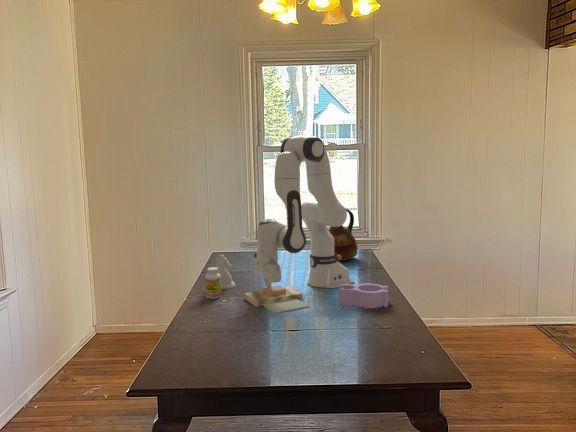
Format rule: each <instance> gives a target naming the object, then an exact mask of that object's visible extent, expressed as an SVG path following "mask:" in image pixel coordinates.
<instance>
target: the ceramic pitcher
mask: <svg viewBox="0 0 576 432" xmlns="http://www.w3.org/2000/svg"><path fill="white" fill-rule="evenodd" d="M344 208H345V209H346V212H347V214H348V216H349V223H348V225H347V227H344V224H343V225H342V226H337V227H329V229H328V231H329V232H330V234H331V235H332V236H333V237H334V254H336V255H341V256H342V257H341V259H340V260H339V259H337V261H338V262H340V261H345V260H346V261H348V260H350V259H353V258H354V257H356V256H357V255H358V244H357V241H356V238H355V237H354V235H353V233H352V231H353V227H354V224H355V217H354V214H353V212H352V211H351V210H350V209H348V208H346V207H344Z"/></svg>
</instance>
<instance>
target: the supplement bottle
mask: <svg viewBox="0 0 576 432" xmlns="http://www.w3.org/2000/svg"><path fill="white" fill-rule="evenodd" d="M206 270H207V273H206V275H205V297H206V298H207V299H209V300H210V299H211V300H215V299H220V298H221V297H222V289H221V275H220V274H219V273H218V268H217V267H216V266H212V267H210V266H209V267H208V268H207V269H206Z"/></svg>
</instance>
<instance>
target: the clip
mask: <svg viewBox="0 0 576 432" xmlns="http://www.w3.org/2000/svg"><path fill="white" fill-rule="evenodd" d="M338 304H339V305H341V306H344V305H345V306H346V307H349V306H348V305H356V306H355V307H358V306H361V307H366V308H365V309H367V308H376V309H378V308H377V307H381V306H386V307H387V306H388V307H389V287H388V285H381V284H377V283H361V284H353V283H351V284H343V285H340V287H338ZM361 307H360V308H361ZM388 307H387V308H388ZM381 308H382V307H381Z"/></svg>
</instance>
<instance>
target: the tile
mask: <svg viewBox="0 0 576 432" xmlns="http://www.w3.org/2000/svg"><path fill="white" fill-rule="evenodd" d="M283 287H284V286H281V285H274V286H271V287H262V288H261V289H260V291H261V293H262V294H264V295H265V296H267V297H269V296H275V295H280V294H286V289H285V288H283Z"/></svg>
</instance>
